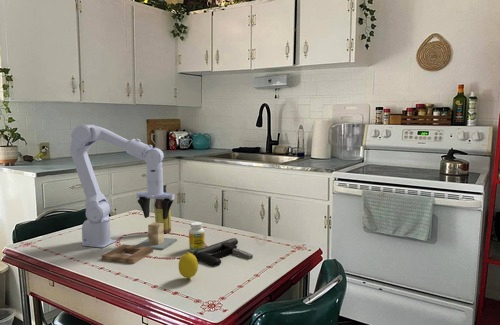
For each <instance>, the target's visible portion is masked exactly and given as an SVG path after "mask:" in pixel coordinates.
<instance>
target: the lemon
mask: <svg viewBox="0 0 500 325" xmlns="http://www.w3.org/2000/svg"><path fill="white" fill-rule="evenodd" d="M198 268H199V263H198V259H196V257H195V256H194V255H193V253H191V252H186V253H184V254H183V255H181V256H180V258H179V260H178V271H179V274H180V275H181V276H182V277H183V278H186V279H187V280H190V279H191V278H193V277H194V276H196V274H197V272H198Z"/></svg>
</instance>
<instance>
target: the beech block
mask: <svg viewBox="0 0 500 325" xmlns="http://www.w3.org/2000/svg"><path fill="white" fill-rule="evenodd" d="M147 228H148V230H147V231H148V233H147V234H148V238H149V244H157V245H159V244H160V243H162V242H164V238H165V235H164V234H165V233H164V227H163V223H158V222H155V221H154V222H151V223H149V224H148V226H147ZM148 238H147V239H148Z"/></svg>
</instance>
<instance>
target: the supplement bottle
mask: <svg viewBox="0 0 500 325" xmlns="http://www.w3.org/2000/svg"><path fill="white" fill-rule="evenodd" d="M188 242H189V243H188V244H189V245H188V246H189V251H190V252H192V253H193V252H194V251H195V250H199V249H202V248H205V247H206V244H205V243H206V242H205V229H204V228H203V223H202V222H200V221H195V222H191V223H190V229H189V230H188Z"/></svg>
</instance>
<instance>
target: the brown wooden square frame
mask: <svg viewBox="0 0 500 325" xmlns="http://www.w3.org/2000/svg"><path fill="white" fill-rule="evenodd" d="M153 252H154V249H153V247H144V246H136V244H135V245H133V244H121V245H119V246H117V247H115V248H113V249H112V250H110V251H108V252H106V253H104V254H102V255H101V261H108V262H114V263H122V264H131V265H134V264H136V263H138V262H139V261H141V260H142V259H144V258H145V257H147V256H148V255H151V253H153ZM124 253H132V254H124Z"/></svg>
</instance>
